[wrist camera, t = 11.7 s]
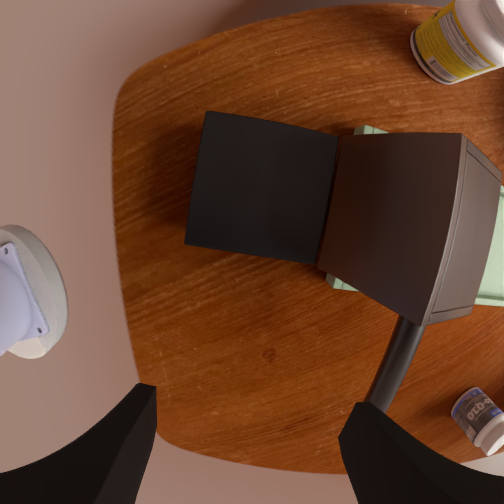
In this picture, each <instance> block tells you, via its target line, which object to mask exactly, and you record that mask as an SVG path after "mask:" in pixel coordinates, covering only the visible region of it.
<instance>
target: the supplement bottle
mask: <svg viewBox="0 0 504 504" xmlns="http://www.w3.org/2000/svg"><path fill="white" fill-rule="evenodd" d="M410 44H411V49H412V52H413V54H414V57H415V59H416V60H417V62H418V64H419V65H420V66H421V68H422V69H423V70H424V71H425V72H426V73H427V74H428V75H429V76H430V77H432V78H433V79H434V80H436V81H438V82H440V83H443V84H454V83H458V82H461V81H463V80H466V79H469V78H472V77H474V76H477V75H480V74H483V73H486V72H489V71H492V70H495V69H498V68H501V67H504V0H454V1H452V2H451V3H449V4H448V5H446V6H445V7H444V8H442V9H441V10H439V11H438V12H437V13H435V14H434V15H433V16H431V17H430V18H429V19H427V20H426V21H424V22H423V23H422V24H420V25H419V26H418V27H417V28H415V29H414V30H413V32H412V34H411V37H410Z"/></svg>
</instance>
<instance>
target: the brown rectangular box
mask: <svg viewBox="0 0 504 504" xmlns="http://www.w3.org/2000/svg"><path fill="white" fill-rule="evenodd" d="M501 181H502V172H501V171H500V170H499V169H498V168H497V167H496V166H495V165H494V164H493V163H492V162H491V161H490V160H489V159H488V158H487V157H486V156H485V155H484V154H483V153H482V152H481V151H480V150H479V149H478V148H477V147H476V146H475V145H474V144H473V143H472V142H471V141H470V140H469V139H467V138H466V137H465V136H464V135H463V134H462V133H429V132H413V133H377V134H358V135H344V136H342V142H341V148H340V154H339V161H338V166H337V172H336V178H335V184H334V189H333V195H332V200H331V205H330V210H329V215H328V220H327V225H326V230H325V235H324V239H323V244H322V248H321V253H320V257H319V262H318V266H317V267H318V268H320V269H321V270H323V271H325V272H327V273H328V274H330V275H332V276H334V277H335V278H337V279H339V280H341V281H342V282H344V283H346V284H348V285H349V286H351V287H353V288H355V289H356V290H358V291H360V292H362V293H363V294H365V295H367V296H368V297H370V298H372V299H374V300H375V301H377V302H379V303H381V304H382V305H384V306H386V307H387V308H389V309H391V310H393V311H394V312H396V313H398V314H399V317H398V319H397V322H396V325H395V328H394V331H393V333H392V336H391V339H390V341H389V344H388V346H387V349H386V351H385V354H384V356H383V359H382V361H381V364H380V366H379V368H378V371H377V373H376V375H375V377H374V380H373V382H372V384H371V386H370V388H369V391H368V393H367V395H366V397H365V399H364V401H363V402H371V403H372V404H373V405H375V406H376V407H377V408H378V409H380V410H381V411H382V412H383V413H386V412H387V410H388V408H389V406H390V404H391V403H392V401H393V399H394V397H395V395H396V393H397V391H398V389H399V387H400V385H401V383H402V381H403V379H404V377H405V375H406V373H407V370H408V368H409V366H410V364H411V362H412V359H413V357H414V355H415V353H416V350H417V348H418V345H419V343H420V341H421V338H422V336H423V333H424V330H425V328H426V325H430V324H435V323H439V322H443V321H447V320H451V319H455V318H459V317H463V316H467V315H470V314H471V311H472V308H473V305H474V303H475V300H476V297H477V294H478V291H479V288H480V284H481V281H482V278H483V274H484V271H485V267H486V263H487V259H488V255H489V251H490V247H491V243H492V238H493V233H494V228H495V223H496V218H497V212H498V205H499V198H500V191H501Z"/></svg>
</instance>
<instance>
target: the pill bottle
mask: <svg viewBox="0 0 504 504" xmlns="http://www.w3.org/2000/svg"><path fill="white" fill-rule="evenodd" d="M451 416H452V417H453V419H454V420H455V421H456V423H457V424H458V425H459V426H460V428H461V429H462V430H463V431H464V433H465V434H466V435H467V436H468V438H469V439H470V440H471V442H472V443H473V444H474V445H475V446H476V447H481V449H482V451H483V452H484V453H485V454H486V455H487V456H489V455H491V454H493V453H494V452H496V451H497V450H498V449H499V448H500V447H501V446H502V445H503V444H504V413H503V412H502V411H501V410H500V409H499V408H498V407H497V406H496V405H495V404H494V403H493V402H492V401H491V400H490V399H489V397H488V396H487V395H486V394H485V393H484V392H483V391H482V390H481V389H479V388H478V387H473V388H471V389H469V390H468V391H466V392H465V393H464V394H463V395H461V396H460V398H459V399H458V400H457V401H456V403H455V404H454V406H453V408H452V411H451Z"/></svg>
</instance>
